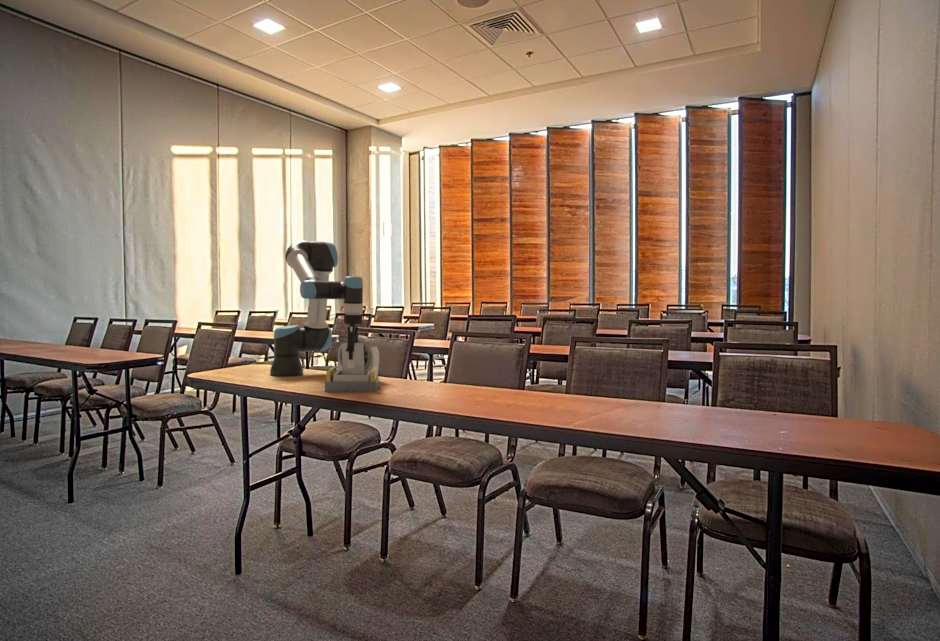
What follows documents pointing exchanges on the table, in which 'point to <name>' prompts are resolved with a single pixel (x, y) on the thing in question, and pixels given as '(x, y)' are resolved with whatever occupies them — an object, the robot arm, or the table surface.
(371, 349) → the alarm clock
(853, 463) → the table surface
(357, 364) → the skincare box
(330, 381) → the grey display stand
